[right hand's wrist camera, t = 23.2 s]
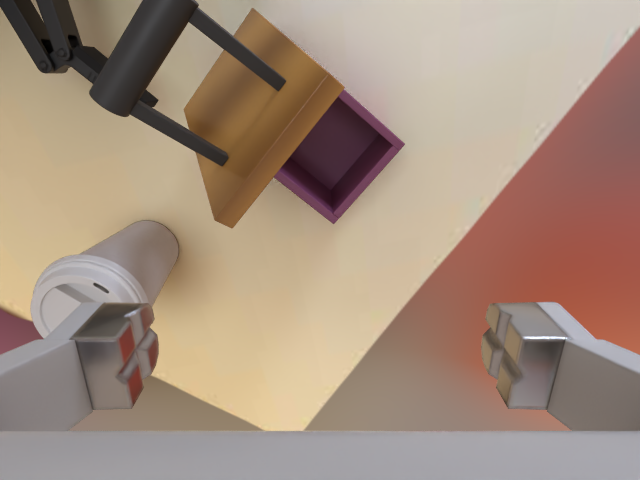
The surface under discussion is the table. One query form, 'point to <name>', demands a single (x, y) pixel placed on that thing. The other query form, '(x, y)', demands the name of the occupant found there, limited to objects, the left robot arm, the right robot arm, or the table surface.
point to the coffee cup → (106, 274)
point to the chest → (339, 157)
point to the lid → (223, 98)
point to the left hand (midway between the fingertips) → (196, 39)
